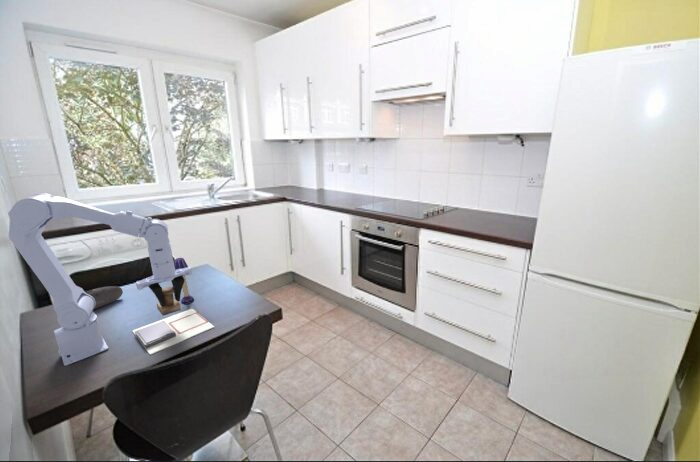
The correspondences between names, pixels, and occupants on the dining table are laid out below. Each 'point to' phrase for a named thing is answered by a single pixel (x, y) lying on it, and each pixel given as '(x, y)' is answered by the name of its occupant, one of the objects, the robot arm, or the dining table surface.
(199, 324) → the paper sheet
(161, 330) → the ink pad
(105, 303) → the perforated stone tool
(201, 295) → the dining table surface
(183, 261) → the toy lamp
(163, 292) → the stamp
